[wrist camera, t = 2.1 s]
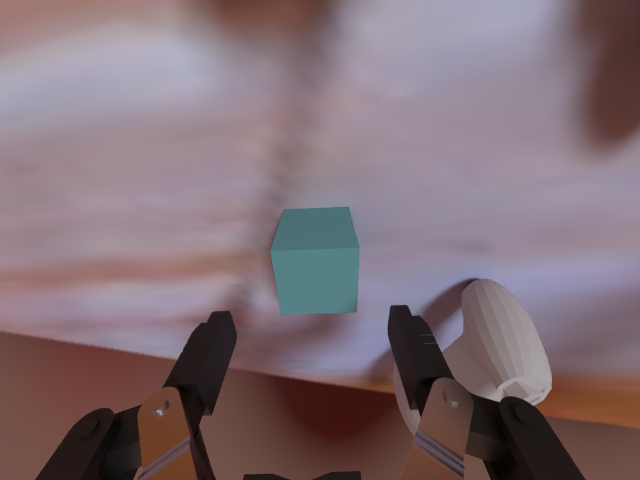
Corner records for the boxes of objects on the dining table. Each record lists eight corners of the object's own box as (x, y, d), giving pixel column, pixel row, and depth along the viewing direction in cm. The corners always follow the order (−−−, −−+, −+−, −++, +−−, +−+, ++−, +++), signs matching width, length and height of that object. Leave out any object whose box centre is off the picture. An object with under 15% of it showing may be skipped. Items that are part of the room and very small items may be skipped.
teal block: (348, 206, 19) (359, 247, 14) (347, 260, 21) (356, 312, 16) (283, 209, 19) (269, 251, 14) (290, 262, 21) (281, 314, 16)
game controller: (406, 363, 28) (444, 478, 20) (374, 352, 28) (399, 468, 19) (501, 274, 22) (619, 388, 13) (463, 257, 21) (563, 367, 12)
